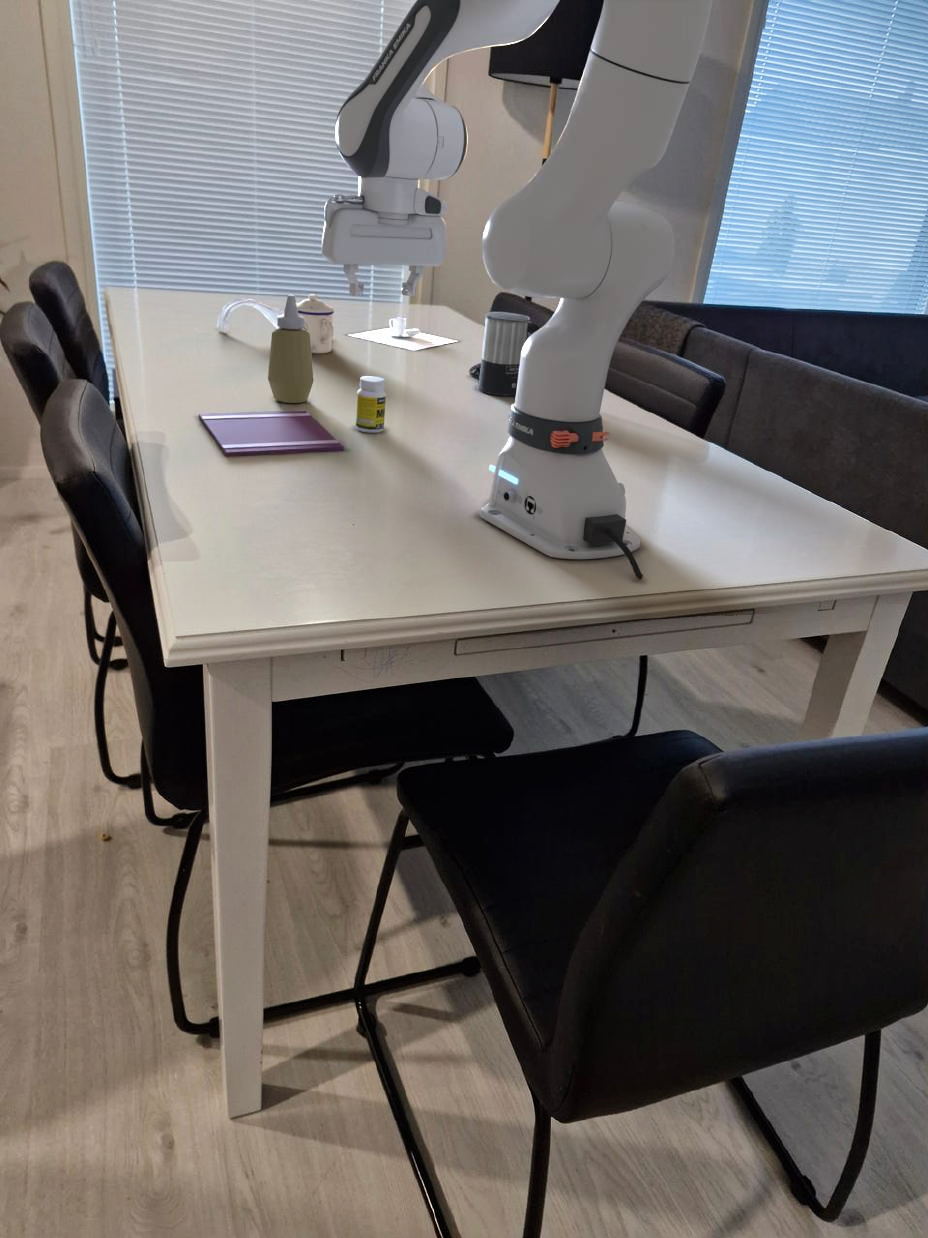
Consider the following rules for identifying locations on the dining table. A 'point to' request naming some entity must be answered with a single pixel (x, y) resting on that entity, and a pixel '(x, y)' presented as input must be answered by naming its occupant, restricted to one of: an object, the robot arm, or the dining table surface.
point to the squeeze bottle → (290, 357)
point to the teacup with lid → (317, 323)
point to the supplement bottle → (370, 405)
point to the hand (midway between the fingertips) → (382, 295)
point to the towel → (268, 433)
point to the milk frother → (502, 352)
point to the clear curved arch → (264, 309)
